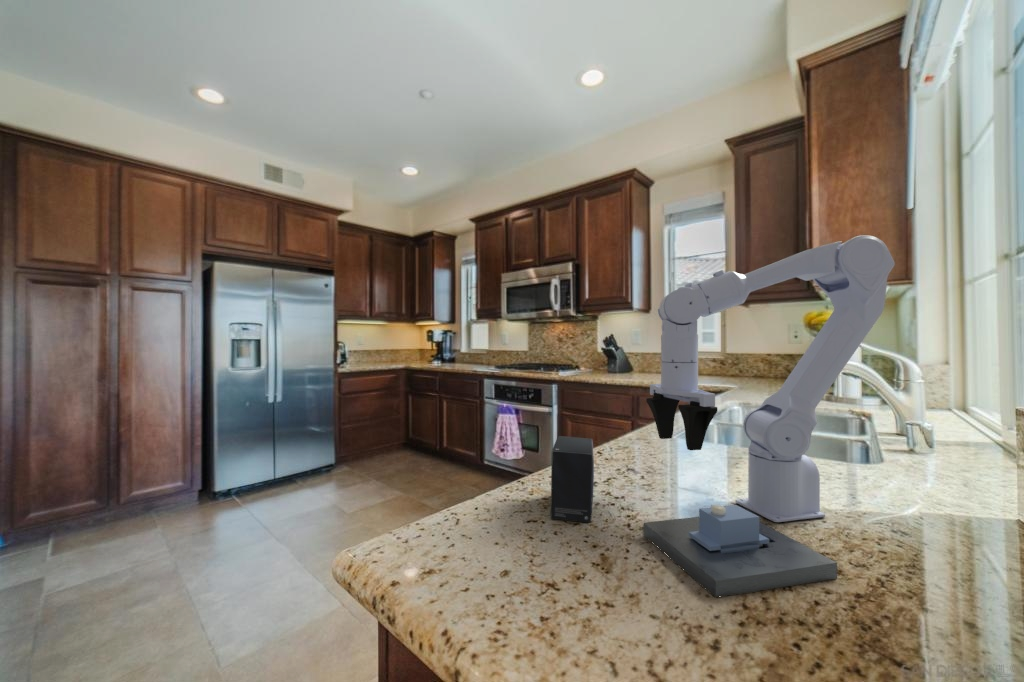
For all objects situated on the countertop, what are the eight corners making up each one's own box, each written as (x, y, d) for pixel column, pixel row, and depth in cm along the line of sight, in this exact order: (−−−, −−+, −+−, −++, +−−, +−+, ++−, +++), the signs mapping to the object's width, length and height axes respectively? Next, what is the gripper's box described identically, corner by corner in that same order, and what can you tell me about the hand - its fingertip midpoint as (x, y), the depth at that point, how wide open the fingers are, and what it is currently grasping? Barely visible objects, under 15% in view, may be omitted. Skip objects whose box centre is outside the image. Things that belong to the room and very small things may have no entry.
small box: (593, 524, 59) (593, 453, 60) (549, 520, 61) (549, 450, 61) (593, 497, 70) (593, 436, 70) (556, 494, 71) (556, 435, 71)
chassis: (741, 524, 60) (741, 512, 60) (837, 578, 46) (837, 562, 46) (643, 535, 56) (643, 522, 56) (715, 597, 42) (715, 580, 42)
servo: (747, 544, 54) (747, 497, 54) (771, 559, 50) (771, 508, 50) (689, 551, 52) (689, 503, 52) (710, 567, 48) (710, 515, 48)
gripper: (634, 360, 74) (634, 434, 74) (686, 364, 60) (686, 456, 59) (669, 360, 75) (669, 433, 75) (727, 364, 61) (727, 454, 61)
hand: (679, 443), depth 67 cm, fingers open, 7 cm apart
